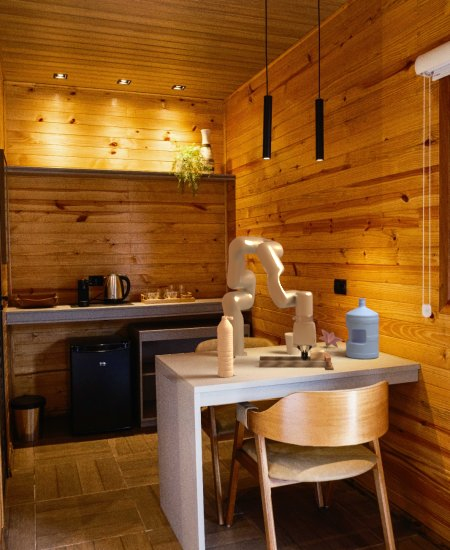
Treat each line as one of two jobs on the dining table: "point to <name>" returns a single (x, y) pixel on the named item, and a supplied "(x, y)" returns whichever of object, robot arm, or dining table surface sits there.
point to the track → (294, 362)
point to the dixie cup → (290, 344)
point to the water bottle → (225, 347)
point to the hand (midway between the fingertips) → (304, 360)
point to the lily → (330, 338)
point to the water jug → (362, 332)
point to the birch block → (317, 355)
